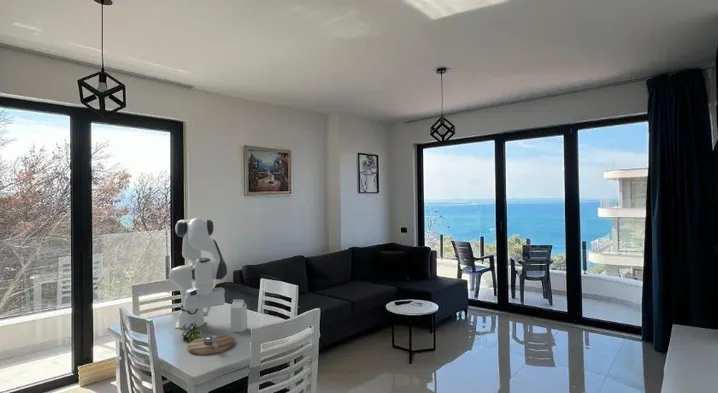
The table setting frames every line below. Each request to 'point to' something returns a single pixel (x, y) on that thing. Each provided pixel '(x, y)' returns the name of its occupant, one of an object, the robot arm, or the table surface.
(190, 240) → the robot arm
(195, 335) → the passion flower
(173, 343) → the table surface
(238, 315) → the milk carton
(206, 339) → the pot lid
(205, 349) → the turntable
